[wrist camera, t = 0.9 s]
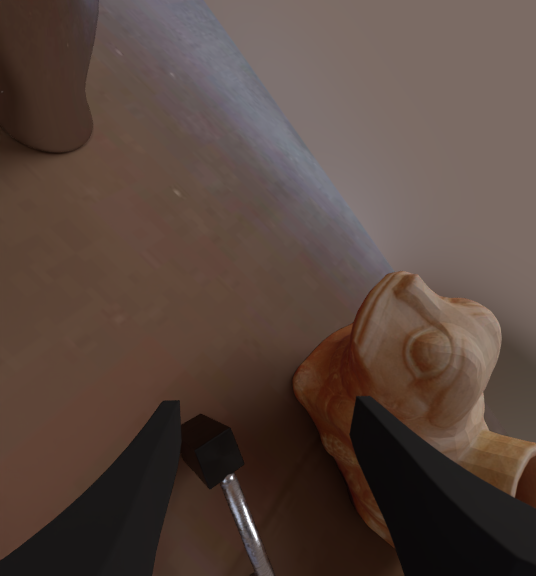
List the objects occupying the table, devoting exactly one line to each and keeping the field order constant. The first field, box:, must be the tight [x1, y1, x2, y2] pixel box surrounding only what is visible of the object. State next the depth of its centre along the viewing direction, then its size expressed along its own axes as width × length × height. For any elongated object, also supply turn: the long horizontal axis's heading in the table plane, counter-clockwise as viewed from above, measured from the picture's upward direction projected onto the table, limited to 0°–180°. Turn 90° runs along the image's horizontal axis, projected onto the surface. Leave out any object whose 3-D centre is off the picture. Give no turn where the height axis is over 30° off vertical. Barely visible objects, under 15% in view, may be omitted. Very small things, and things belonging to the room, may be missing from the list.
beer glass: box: [0, 0, 99, 153], centre depth 16 cm, size 7×7×15 cm
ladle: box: [180, 414, 275, 576], centre depth 20 cm, size 16×4×6 cm, turn 25°
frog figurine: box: [292, 271, 536, 548], centre depth 25 cm, size 14×26×15 cm, turn 33°
